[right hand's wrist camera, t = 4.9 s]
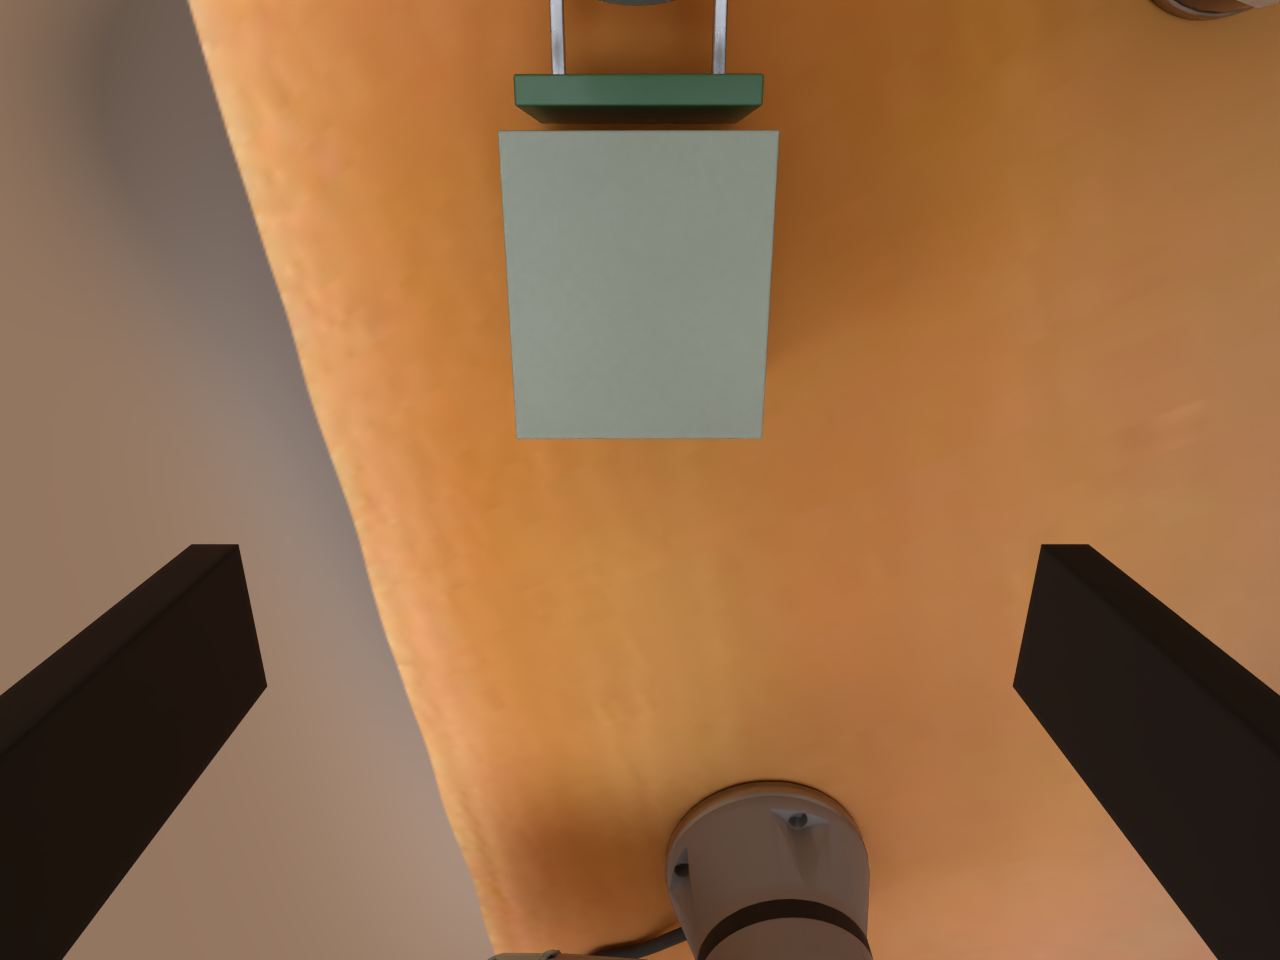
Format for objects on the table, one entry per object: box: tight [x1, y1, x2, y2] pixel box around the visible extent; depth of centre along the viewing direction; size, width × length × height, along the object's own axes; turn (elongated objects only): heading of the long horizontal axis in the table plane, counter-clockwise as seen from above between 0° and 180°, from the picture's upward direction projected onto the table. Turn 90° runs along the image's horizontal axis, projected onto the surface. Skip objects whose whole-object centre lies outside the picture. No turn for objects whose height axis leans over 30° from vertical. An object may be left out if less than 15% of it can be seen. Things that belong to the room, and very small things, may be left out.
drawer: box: [514, 0, 764, 123], centre depth 37 cm, size 18×10×9 cm, turn 0°
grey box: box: [498, 130, 779, 439], centre depth 39 cm, size 13×12×11 cm
